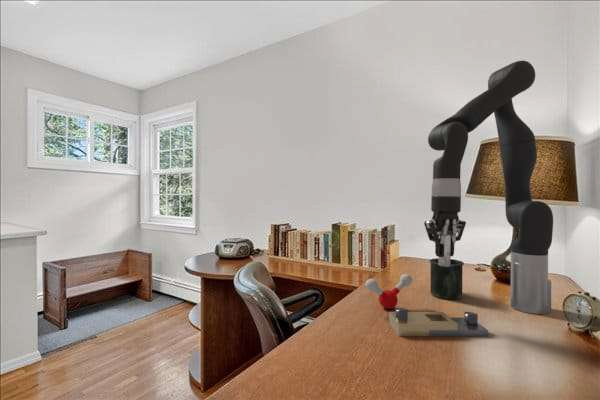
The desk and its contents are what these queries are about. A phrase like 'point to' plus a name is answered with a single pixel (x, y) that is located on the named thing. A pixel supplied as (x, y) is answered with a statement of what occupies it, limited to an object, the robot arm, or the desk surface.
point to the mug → (446, 279)
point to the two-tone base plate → (434, 324)
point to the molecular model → (388, 291)
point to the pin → (446, 250)
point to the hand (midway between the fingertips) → (444, 256)
